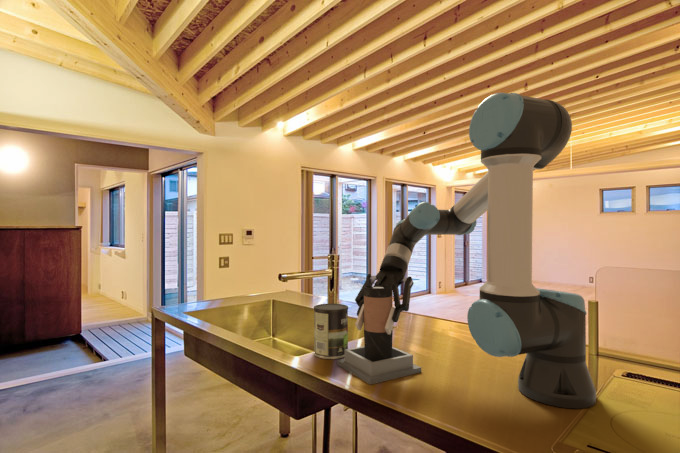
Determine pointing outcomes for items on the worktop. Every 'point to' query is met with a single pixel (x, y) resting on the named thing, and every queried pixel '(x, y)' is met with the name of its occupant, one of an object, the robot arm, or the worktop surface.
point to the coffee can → (330, 330)
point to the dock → (378, 365)
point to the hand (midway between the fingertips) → (372, 329)
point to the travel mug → (377, 322)
